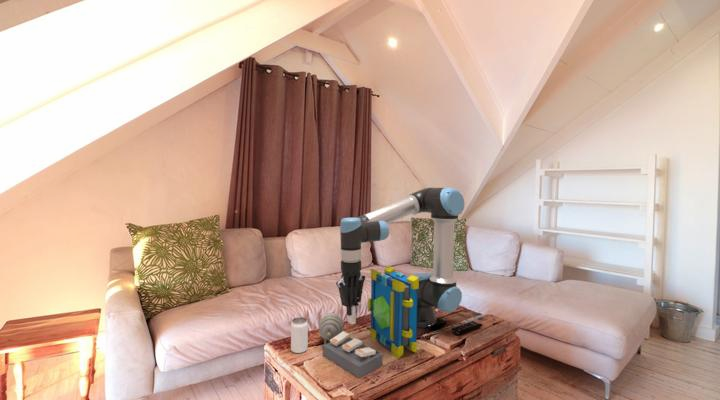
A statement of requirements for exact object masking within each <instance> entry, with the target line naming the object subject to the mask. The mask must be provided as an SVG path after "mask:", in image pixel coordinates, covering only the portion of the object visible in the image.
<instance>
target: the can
mask: <svg viewBox="0 0 720 400" xmlns="http://www.w3.org/2000/svg"><path fill="white" fill-rule="evenodd" d="M291 321H292V322H291V323H290V350H291V352H292V353H294V354H303V353H306V352H307V351H308V344H309V343H308V342H309V340H308V334H309V333H308V330H309V329H308V321H307V318H306V317H303V316H300V317H299V316H297V317H294V318H293V319H292V320H291Z"/></svg>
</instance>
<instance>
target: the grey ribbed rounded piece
mask: <svg viewBox="0 0 720 400" xmlns="http://www.w3.org/2000/svg"><path fill="white" fill-rule="evenodd" d="M344 329H345V324H344V321H343V319H342V317H341V316H340V315H338V314H337V313H335V312H330V313H327V314H326V315H324V316H323V317H322V318H321V320H320V321H319V323H318V332H319V336H321V338H322V339H323V345H325V344H327V343H328V342H330V340H331V339H332V338H334V337H335V336H337V335H338V334H340V333H341V332H343V331H344Z"/></svg>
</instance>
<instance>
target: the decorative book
mask: <svg viewBox="0 0 720 400" xmlns="http://www.w3.org/2000/svg"><path fill="white" fill-rule="evenodd" d="M395 270H396V268H395V267H392V266H390V265H389V266H387V267H385V268H384V269H383V275H382V272H380V271H378V270H376V269H373V268H370V279H371V288H370V289H371V290H370V291H371V292H370V294H371V295H370V296H371V297H369V298H368V300H367V301H368V302H367V311H368V312H370V338H371V340H373V339H374V340H375V341H374V340H373V341H374V342H377V341H379V342H380V343H381V344H382V345H383V346H384V347H386V348H387V349H389V350H390V351H391V352H390V354H391V355H392V356H393V357H394V358H396V359H397V360H399V359H400V358H401V357H402V356H403V355H404V347H405V348H406V349H408V350H409V351H411V352H413V353H418V342H417V340H418V339H417V336H418V334H417V333H418V332H417V330H418V327H417V291H418V289H419V278H418V277H416V276H413V275H412V274H411V275H410V276H407V274H405V273H402V272H398V271H395Z"/></svg>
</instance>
